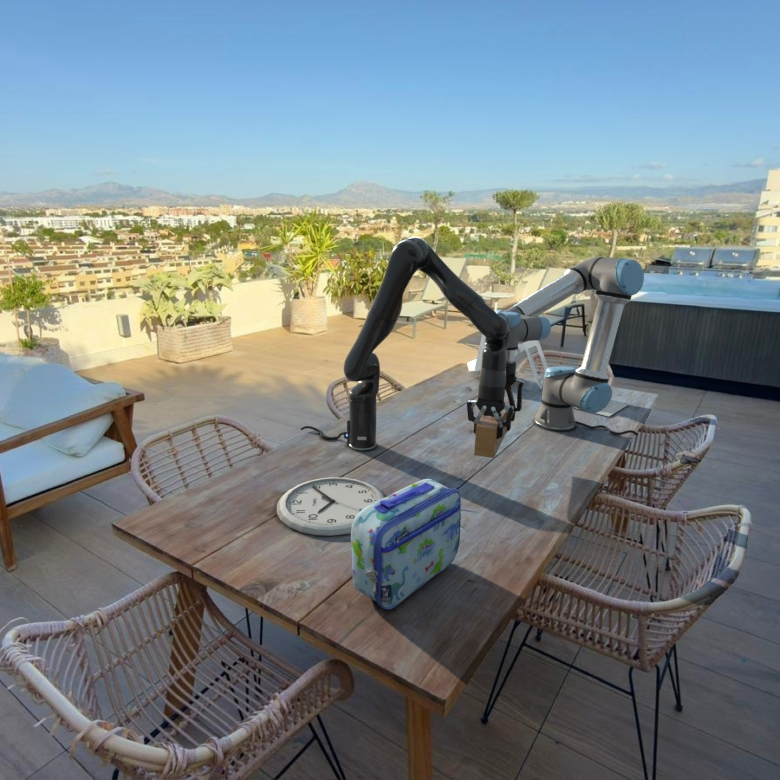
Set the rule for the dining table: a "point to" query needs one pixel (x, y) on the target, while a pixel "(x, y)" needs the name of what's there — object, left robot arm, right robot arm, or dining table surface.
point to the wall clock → (326, 505)
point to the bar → (489, 435)
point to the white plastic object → (523, 351)
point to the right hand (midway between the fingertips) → (498, 427)
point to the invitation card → (611, 408)
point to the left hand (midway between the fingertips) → (487, 436)
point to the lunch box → (405, 541)
